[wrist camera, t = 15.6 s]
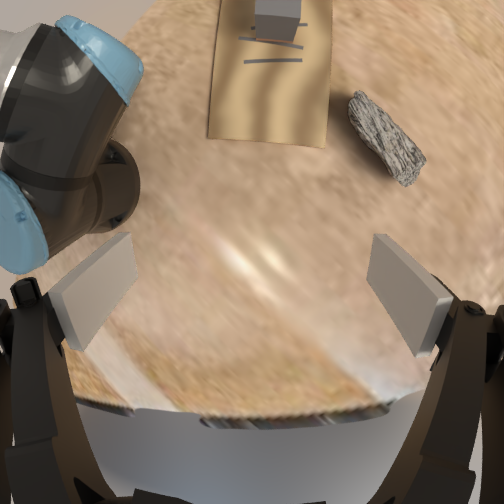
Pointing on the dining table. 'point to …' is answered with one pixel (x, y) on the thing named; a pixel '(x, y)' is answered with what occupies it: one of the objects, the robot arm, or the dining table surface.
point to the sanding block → (277, 20)
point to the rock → (385, 139)
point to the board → (272, 78)
